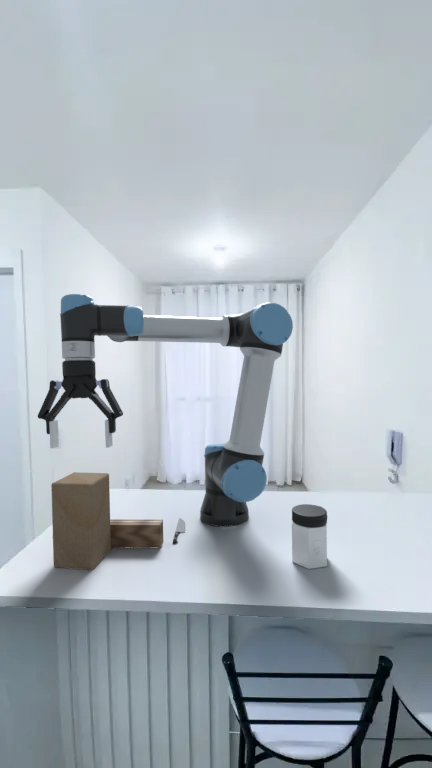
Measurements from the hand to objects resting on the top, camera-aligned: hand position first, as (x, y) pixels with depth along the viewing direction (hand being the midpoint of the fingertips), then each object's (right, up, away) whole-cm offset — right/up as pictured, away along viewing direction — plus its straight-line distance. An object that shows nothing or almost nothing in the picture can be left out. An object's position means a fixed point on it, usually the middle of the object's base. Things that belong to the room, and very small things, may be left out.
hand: (81, 447), depth 88 cm
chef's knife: (+23, -27, +17) cm, 39 cm away
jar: (+55, -27, -2) cm, 61 cm away
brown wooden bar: (+7, -27, +8) cm, 29 cm away
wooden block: (0, -28, 0) cm, 28 cm away
